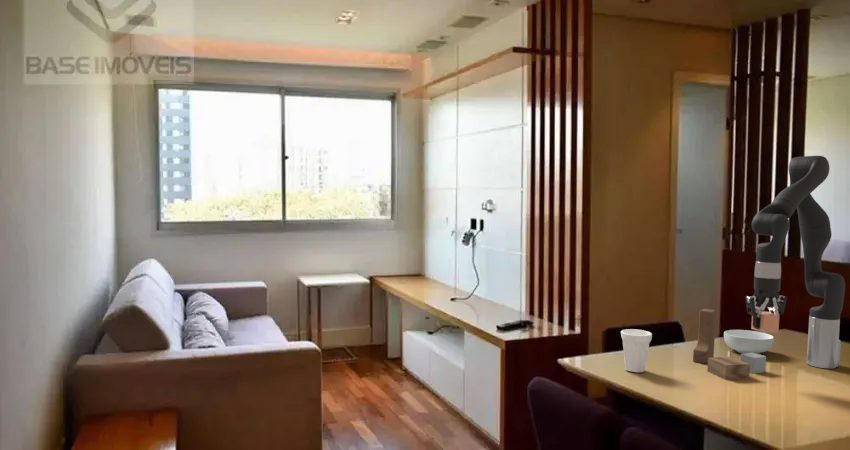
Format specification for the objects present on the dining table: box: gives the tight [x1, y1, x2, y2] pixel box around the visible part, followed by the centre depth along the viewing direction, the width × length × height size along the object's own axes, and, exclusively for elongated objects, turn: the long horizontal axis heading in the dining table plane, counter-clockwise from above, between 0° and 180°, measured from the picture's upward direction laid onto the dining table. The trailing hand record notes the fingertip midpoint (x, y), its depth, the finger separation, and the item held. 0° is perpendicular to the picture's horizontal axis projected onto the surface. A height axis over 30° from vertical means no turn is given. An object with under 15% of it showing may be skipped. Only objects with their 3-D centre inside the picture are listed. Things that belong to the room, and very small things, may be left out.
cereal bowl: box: [723, 329, 775, 355], centre depth 246 cm, size 17×17×7 cm
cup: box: [620, 328, 653, 373], centre depth 218 cm, size 10×10×13 cm
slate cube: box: [740, 352, 767, 375], centre depth 221 cm, size 6×6×6 cm
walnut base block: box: [706, 356, 750, 380], centre depth 216 cm, size 9×9×5 cm
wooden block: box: [692, 308, 717, 365], centre depth 232 cm, size 9×4×18 cm, turn 139°
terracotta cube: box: [750, 311, 780, 334], centre depth 209 cm, size 6×6×6 cm
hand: (764, 327), depth 209 cm, fingers closed on terracotta cube, 5 cm apart
